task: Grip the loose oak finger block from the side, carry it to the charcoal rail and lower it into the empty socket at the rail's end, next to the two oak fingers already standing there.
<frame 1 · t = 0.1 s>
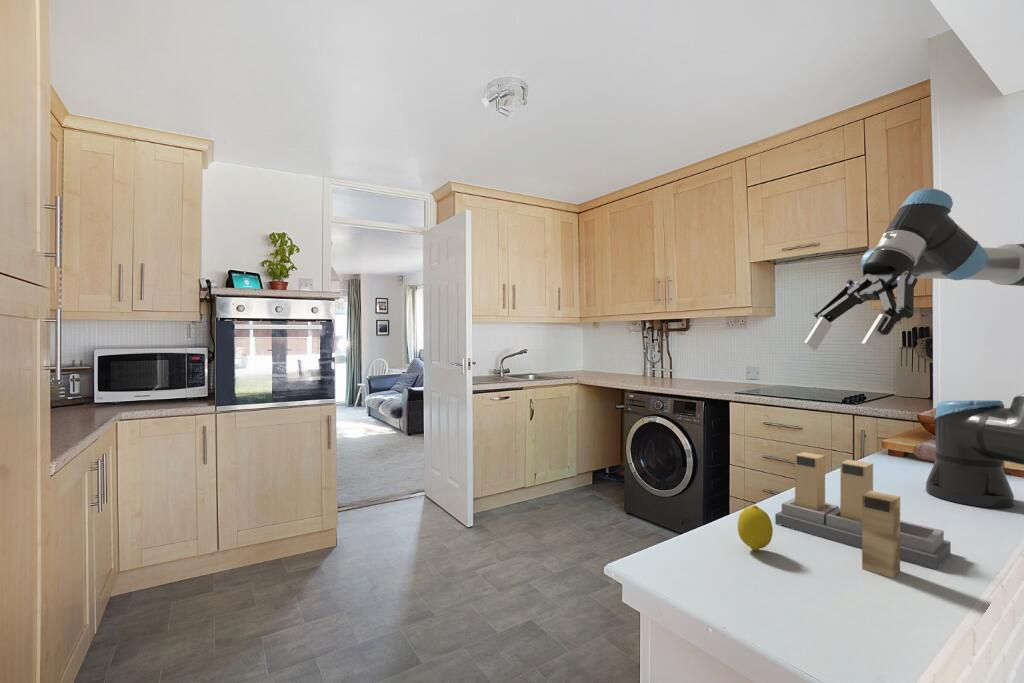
hand: (837, 347, 94), 36 cm above the counter, tool tilted 35°, fingers open, 13 cm apart
oak finger: (880, 569, 79), on the counter
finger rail: (856, 537, 92), on the counter
lemon: (754, 551, 86), on the counter
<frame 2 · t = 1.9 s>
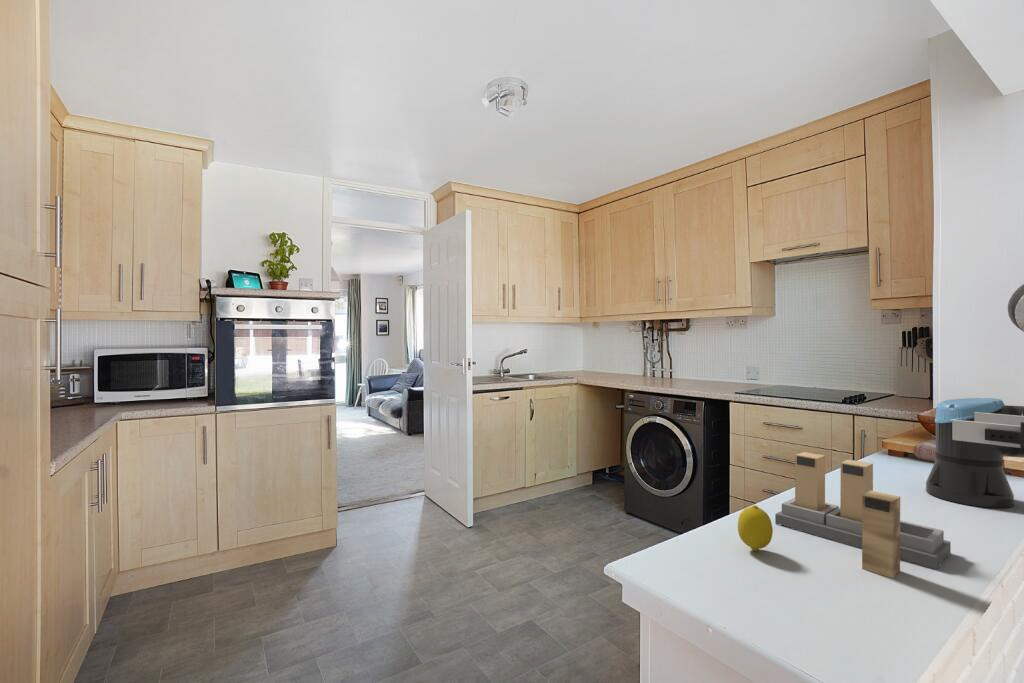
hand: (964, 425, 71), 25 cm above the counter, tool horizontal, fingers open, 13 cm apart
nothing on the counter moved.
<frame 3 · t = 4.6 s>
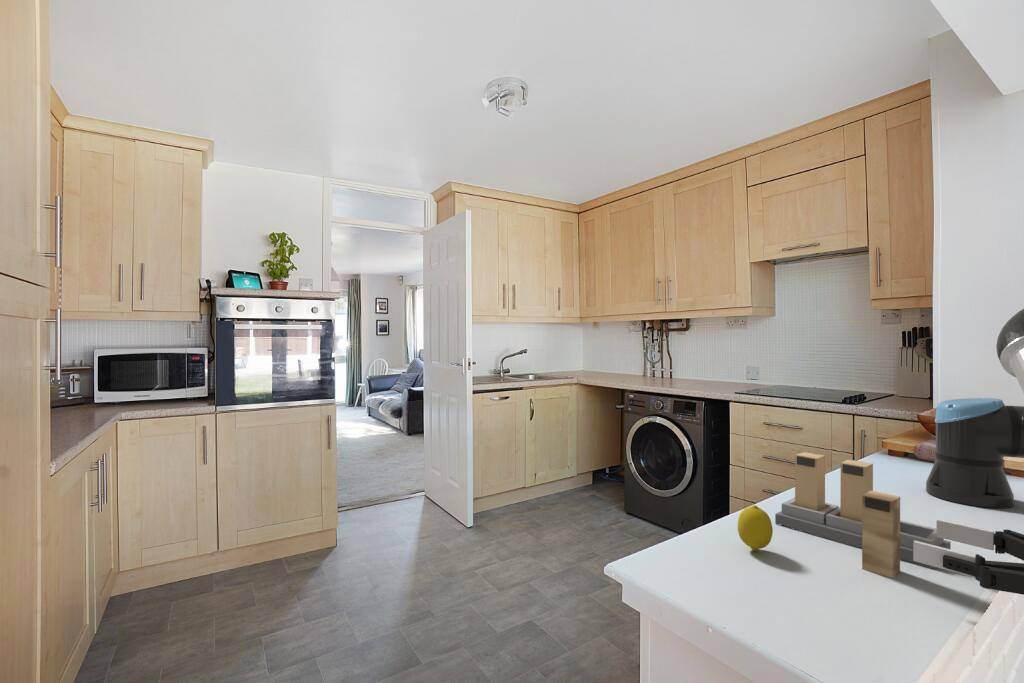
hand: (925, 538, 74), 7 cm above the counter, tool horizontal, fingers open, 13 cm apart
nothing on the counter moved.
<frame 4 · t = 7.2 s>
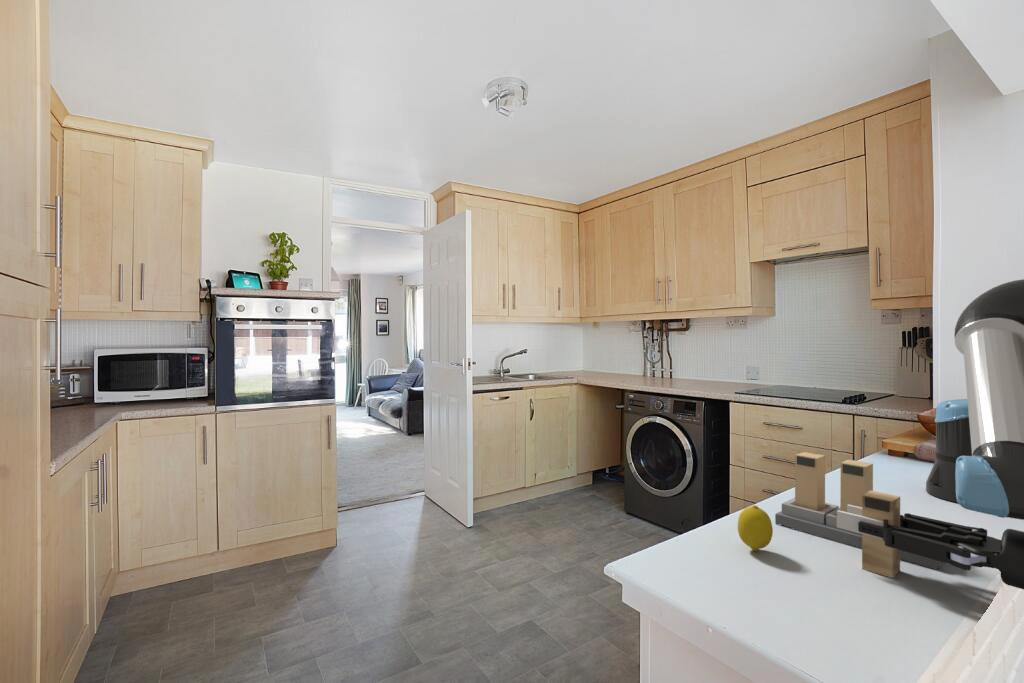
hand: (843, 515, 83), 7 cm above the counter, tool horizontal, fingers closed on oak finger, 4 cm apart
oak finger: (881, 569, 79), on the counter, touching gripper
everything else where it was.
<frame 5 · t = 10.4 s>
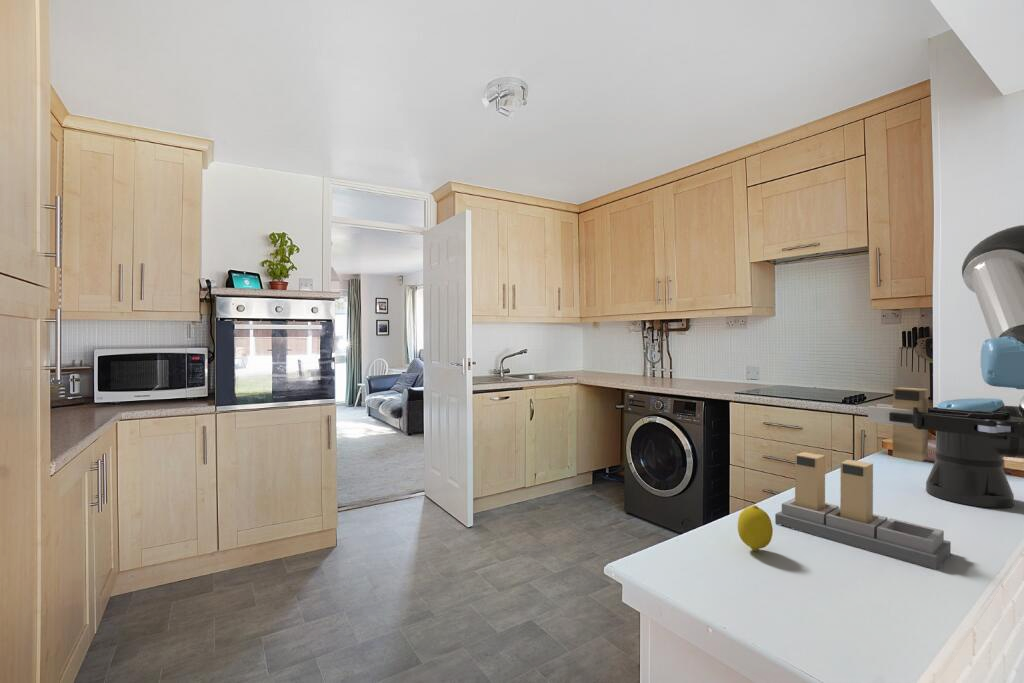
hand: (873, 412, 90), 24 cm above the counter, tool horizontal, fingers closed on oak finger, 4 cm apart
oak finger: (910, 457, 86), point 17 cm above the counter, touching gripper
everything else where it was.
when the fingers open (10 cm above the counter, at t = 13.9 s): oak finger stays where it is, resting on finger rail.
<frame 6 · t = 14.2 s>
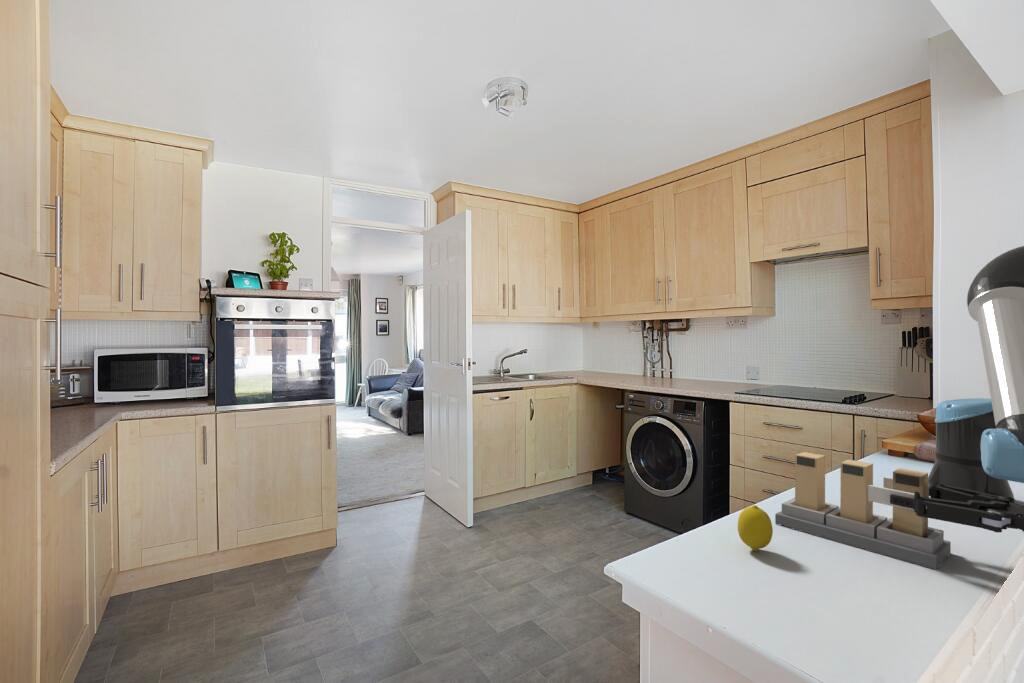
hand: (877, 488, 89), 10 cm above the counter, tool horizontal, fingers open, 8 cm apart
oak finger: (910, 540, 86), point 2 cm above the counter, touching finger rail
everything else where it was.
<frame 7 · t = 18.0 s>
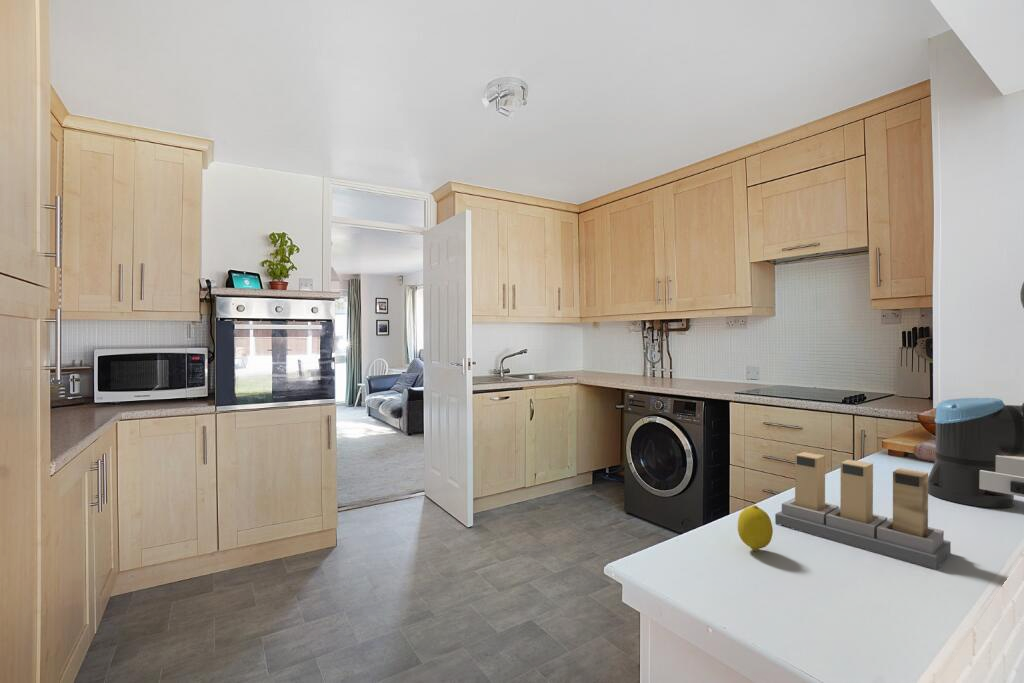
hand: (987, 470, 78), 16 cm above the counter, tool horizontal, fingers open, 13 cm apart
nothing on the counter moved.
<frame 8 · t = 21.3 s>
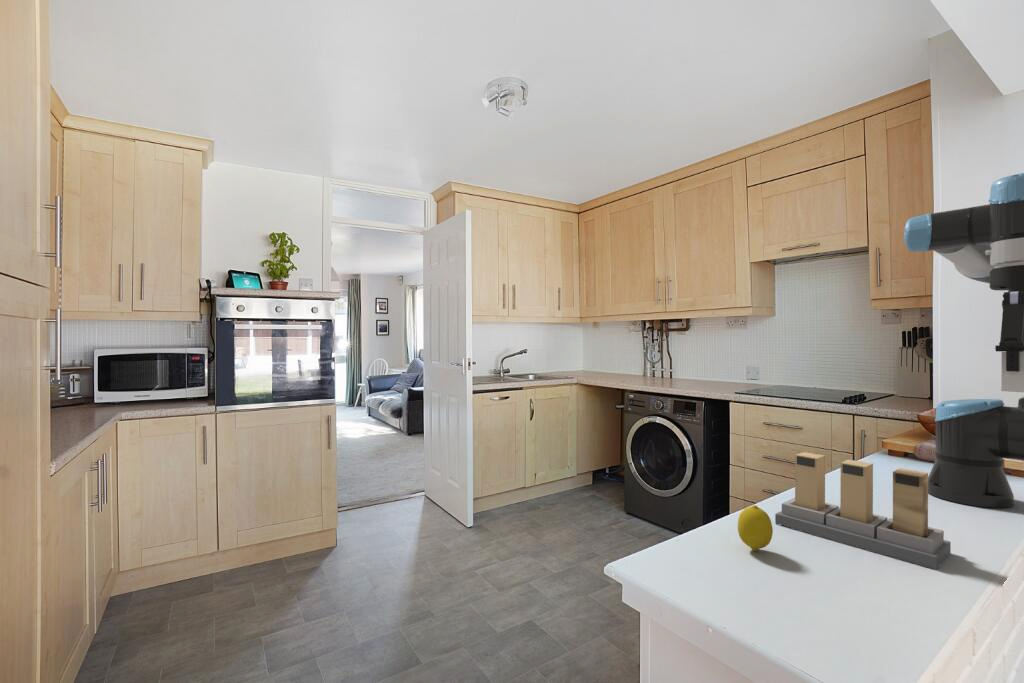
hand: (1019, 389, 84), 29 cm above the counter, tool pointing down, fingers open, 13 cm apart
nothing on the counter moved.
at the end: oak finger 0.0 cm from the target spot on the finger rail, point 2.0 cm above the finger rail's base; oak finger tilted 0°; the gripper is holding nothing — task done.
